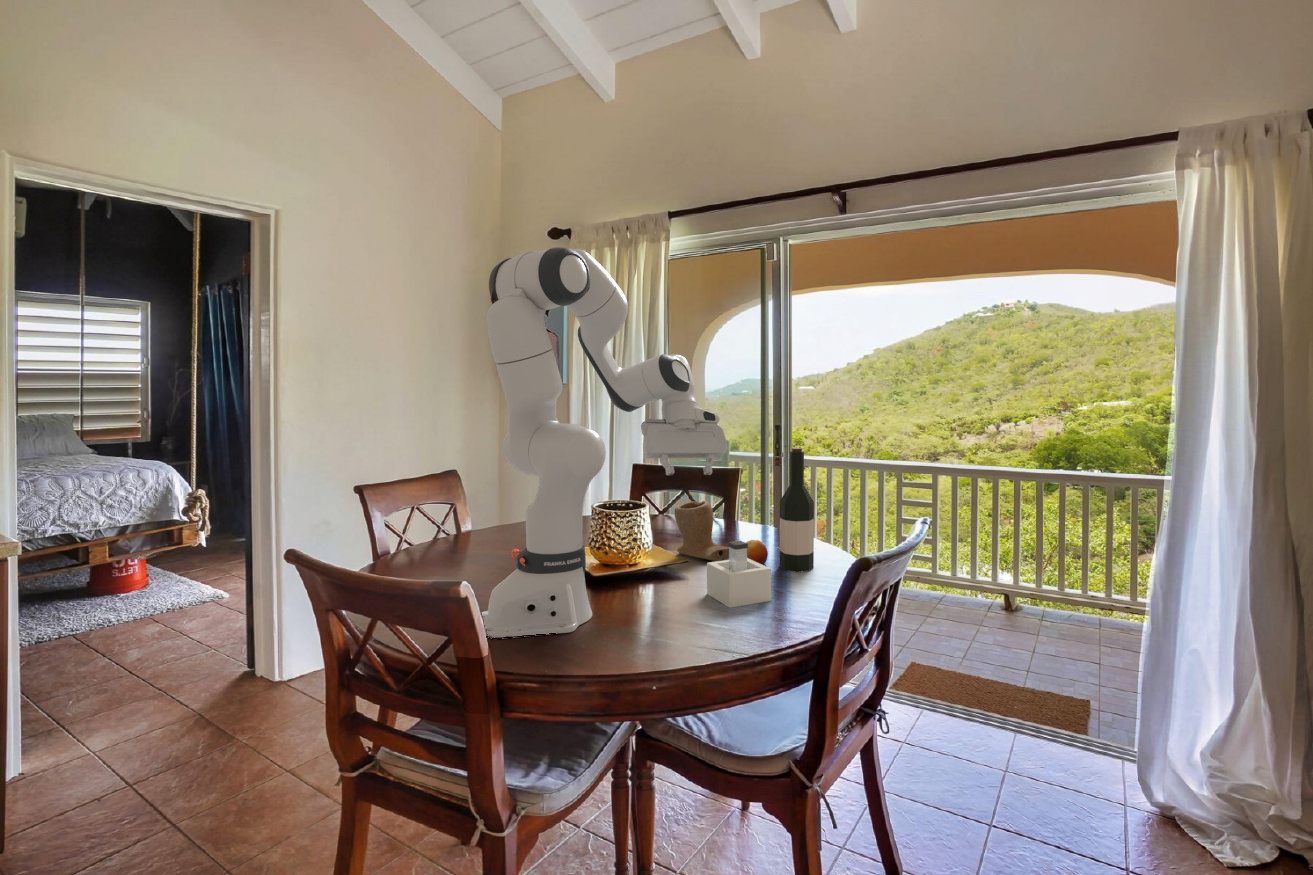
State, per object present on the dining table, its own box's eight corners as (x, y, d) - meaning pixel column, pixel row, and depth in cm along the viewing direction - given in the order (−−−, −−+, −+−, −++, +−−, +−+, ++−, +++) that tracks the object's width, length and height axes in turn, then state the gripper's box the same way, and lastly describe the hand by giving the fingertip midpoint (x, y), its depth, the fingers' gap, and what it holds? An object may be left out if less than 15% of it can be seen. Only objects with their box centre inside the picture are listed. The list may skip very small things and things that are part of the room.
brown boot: (665, 556, 179) (665, 501, 178) (697, 548, 187) (697, 495, 185) (705, 567, 167) (704, 508, 166) (737, 559, 175) (737, 502, 174)
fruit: (774, 566, 162) (757, 538, 162) (747, 582, 163) (730, 554, 164) (775, 558, 170) (759, 531, 170) (749, 572, 171) (733, 546, 172)
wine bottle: (820, 568, 165) (821, 448, 163) (796, 573, 161) (797, 450, 158) (796, 561, 172) (796, 446, 170) (772, 566, 167) (772, 448, 165)
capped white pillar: (734, 596, 141) (734, 545, 140) (725, 591, 145) (725, 541, 144) (750, 594, 143) (750, 543, 142) (741, 588, 146) (741, 539, 145)
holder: (729, 607, 137) (729, 574, 137) (707, 593, 146) (706, 562, 146) (770, 600, 141) (770, 568, 140) (746, 587, 150) (746, 557, 150)
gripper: (644, 413, 152) (651, 469, 147) (725, 415, 159) (734, 469, 154) (636, 424, 158) (642, 479, 153) (714, 425, 165) (723, 478, 159)
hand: (689, 474), depth 153 cm, fingers open, 8 cm apart
